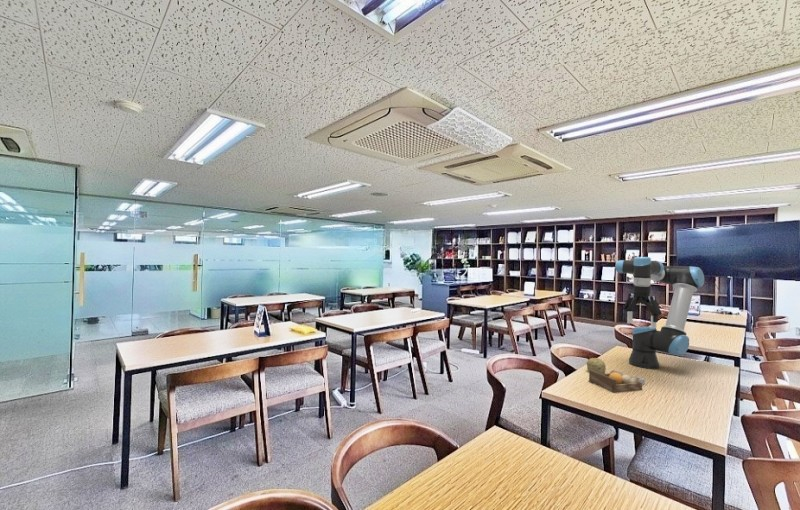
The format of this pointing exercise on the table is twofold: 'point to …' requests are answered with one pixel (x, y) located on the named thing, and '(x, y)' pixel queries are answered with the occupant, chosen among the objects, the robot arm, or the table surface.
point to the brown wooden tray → (610, 383)
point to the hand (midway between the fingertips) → (641, 325)
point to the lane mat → (608, 389)
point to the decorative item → (596, 365)
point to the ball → (616, 377)
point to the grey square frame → (640, 379)
